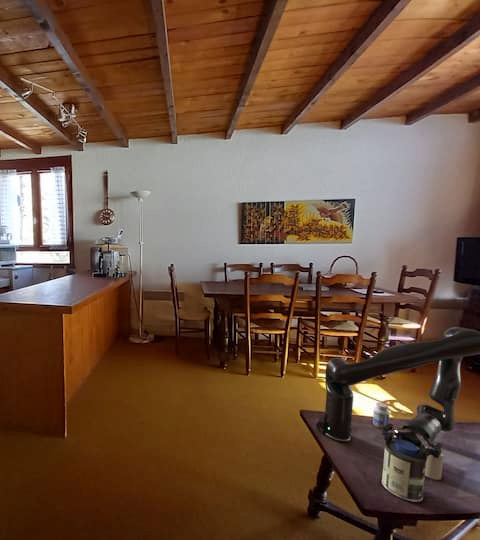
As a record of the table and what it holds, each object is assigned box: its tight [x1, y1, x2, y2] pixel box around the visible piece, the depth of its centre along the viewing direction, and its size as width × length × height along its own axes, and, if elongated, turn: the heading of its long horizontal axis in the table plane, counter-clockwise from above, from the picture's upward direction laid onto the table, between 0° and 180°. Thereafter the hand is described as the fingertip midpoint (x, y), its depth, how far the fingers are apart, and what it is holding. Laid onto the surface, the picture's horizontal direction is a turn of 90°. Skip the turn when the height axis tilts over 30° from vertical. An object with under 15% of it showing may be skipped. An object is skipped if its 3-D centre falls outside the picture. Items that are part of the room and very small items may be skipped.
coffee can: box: [381, 439, 427, 503], centre depth 101 cm, size 10×10×14 cm
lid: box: [393, 439, 419, 456], centre depth 100 cm, size 6×6×2 cm
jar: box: [425, 446, 445, 481], centre depth 108 cm, size 5×5×11 cm
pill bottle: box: [372, 402, 390, 429], centre depth 137 cm, size 6×5×10 cm
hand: (403, 447), depth 99 cm, fingers open, 8 cm apart
